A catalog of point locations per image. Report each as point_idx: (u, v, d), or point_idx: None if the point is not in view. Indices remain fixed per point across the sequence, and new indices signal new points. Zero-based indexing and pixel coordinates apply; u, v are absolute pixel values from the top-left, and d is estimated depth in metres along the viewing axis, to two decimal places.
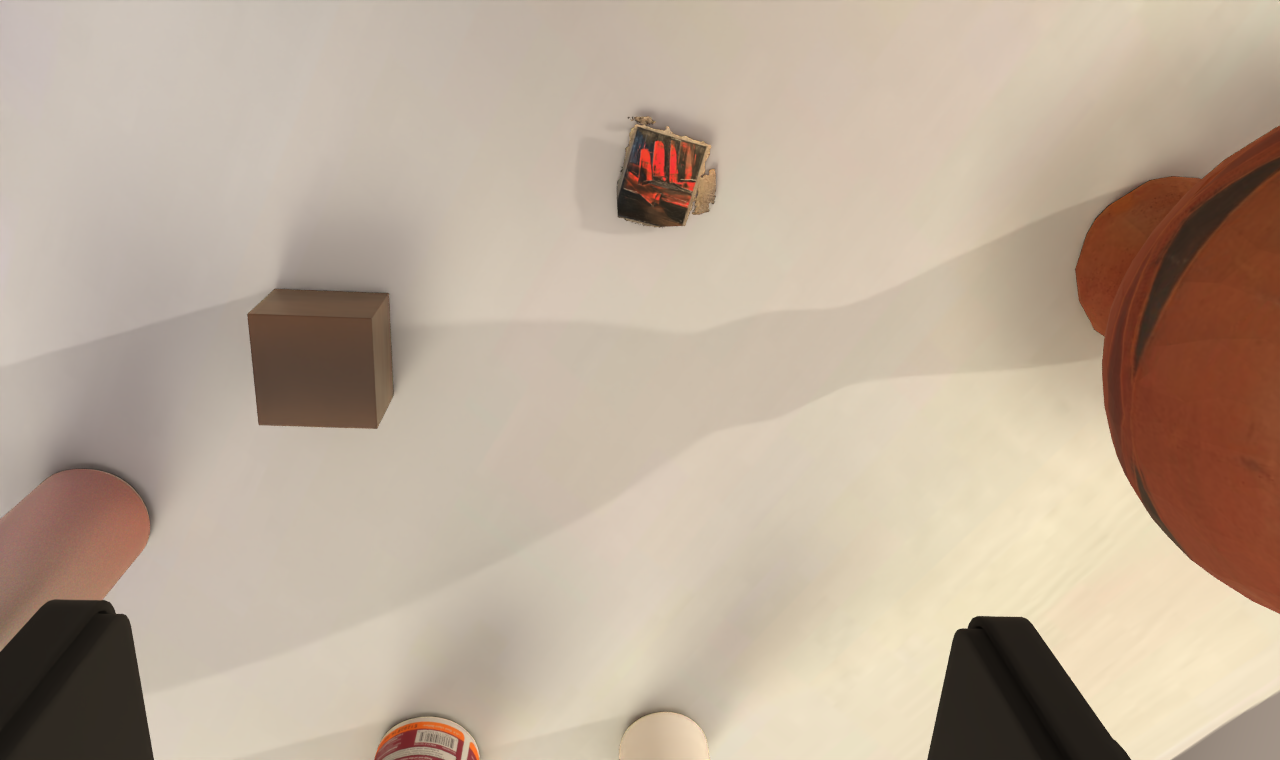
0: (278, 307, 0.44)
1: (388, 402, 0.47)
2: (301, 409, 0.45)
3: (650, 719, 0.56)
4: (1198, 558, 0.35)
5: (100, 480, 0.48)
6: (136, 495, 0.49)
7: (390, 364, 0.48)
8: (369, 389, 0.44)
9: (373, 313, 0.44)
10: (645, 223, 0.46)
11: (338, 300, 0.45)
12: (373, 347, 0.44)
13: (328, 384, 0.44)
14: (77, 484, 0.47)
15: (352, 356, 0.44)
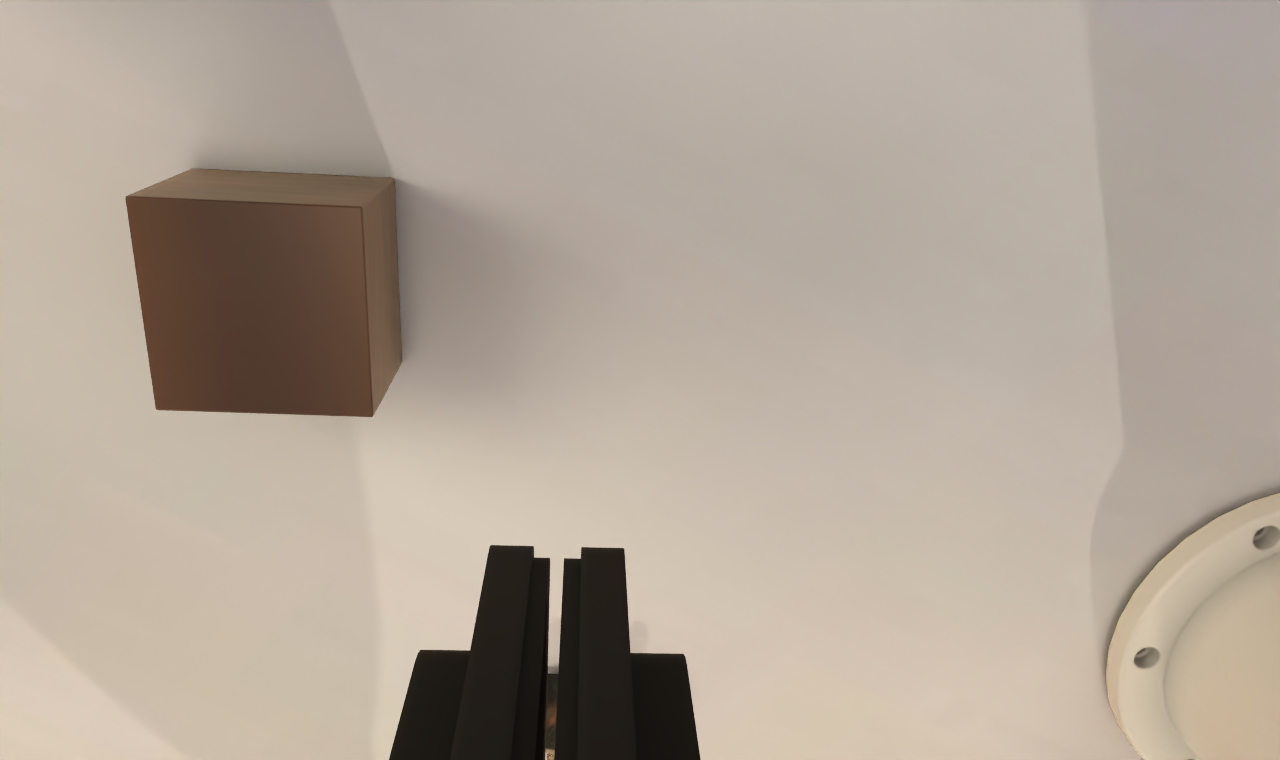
0: (373, 240, 0.24)
1: None
2: (173, 282, 0.23)
3: None
4: None
5: None
6: None
7: None
8: (234, 404, 0.24)
9: (379, 403, 0.25)
10: None
11: (388, 312, 0.26)
12: (317, 414, 0.25)
13: (234, 335, 0.24)
14: None
15: (295, 380, 0.24)
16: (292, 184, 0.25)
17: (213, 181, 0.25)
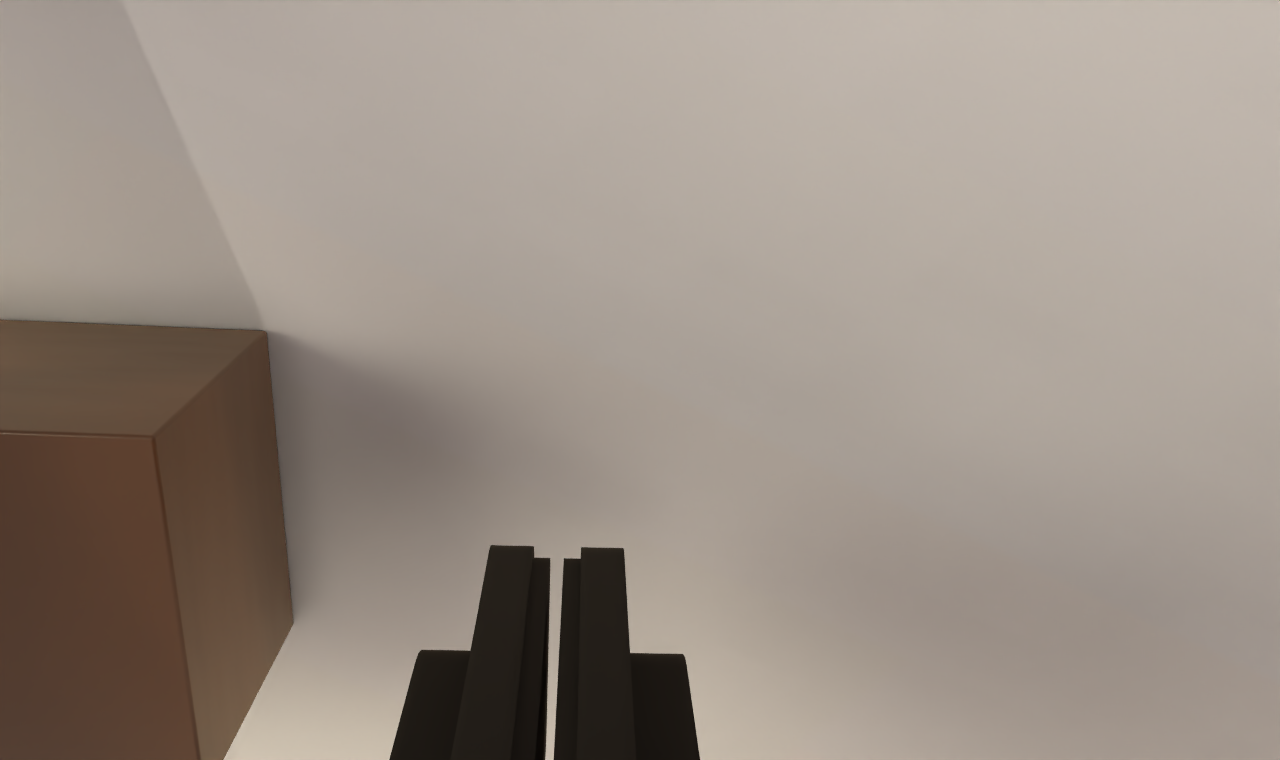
0: (200, 476, 0.13)
1: None
2: None
3: None
4: None
5: None
6: None
7: None
8: None
9: (225, 753, 0.14)
10: None
11: (253, 571, 0.15)
12: None
13: None
14: None
15: (52, 739, 0.13)
16: (60, 359, 0.13)
17: None
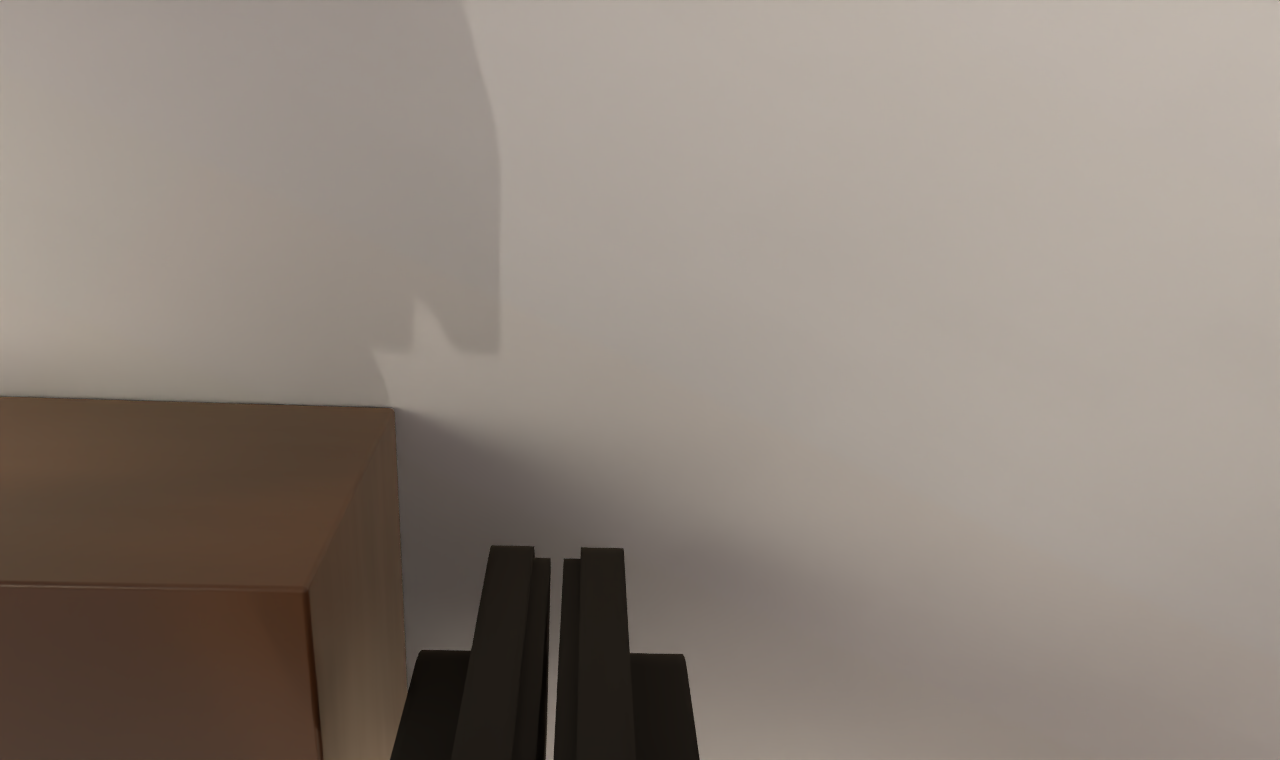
0: (343, 618, 0.10)
1: None
2: None
3: None
4: None
5: None
6: None
7: None
8: None
9: None
10: None
11: (383, 708, 0.12)
12: None
13: None
14: None
15: None
16: (150, 459, 0.10)
17: None
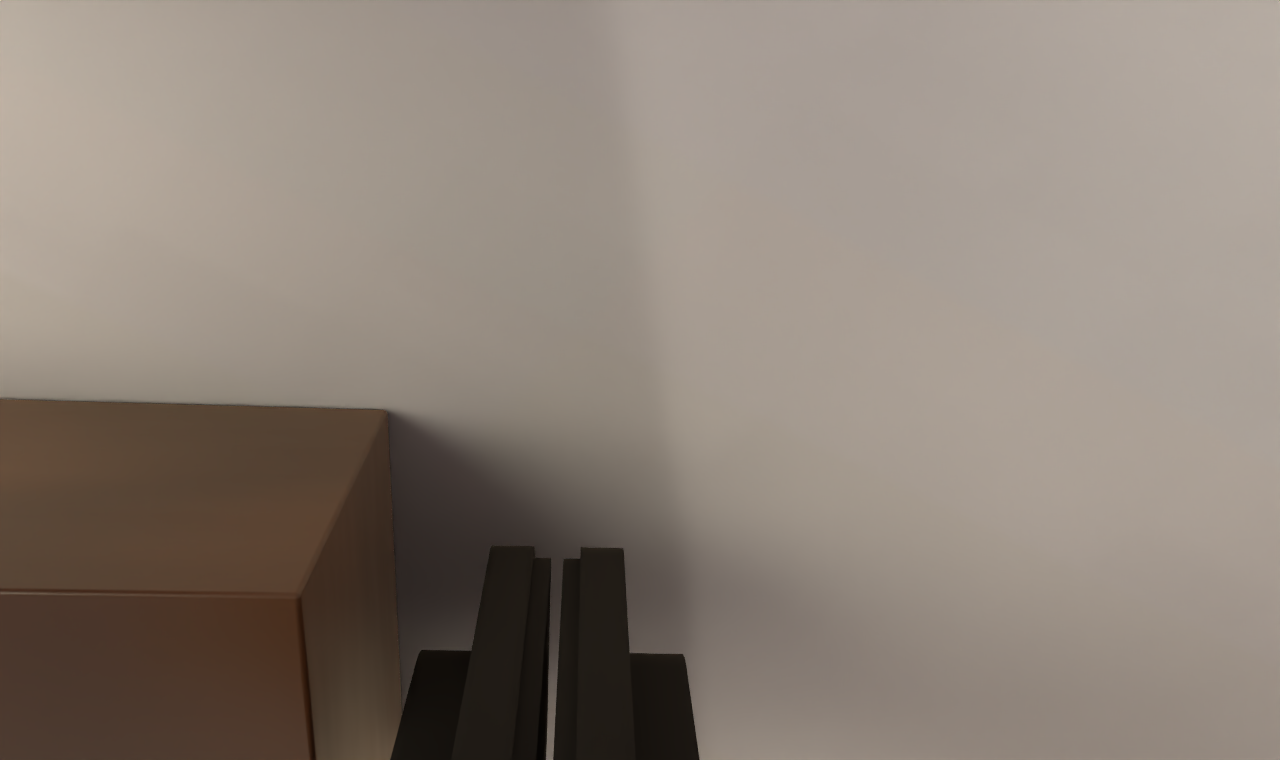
0: (336, 623, 0.10)
1: None
2: None
3: None
4: None
5: None
6: None
7: None
8: None
9: None
10: None
11: (376, 712, 0.12)
12: None
13: None
14: None
15: None
16: (140, 463, 0.10)
17: None
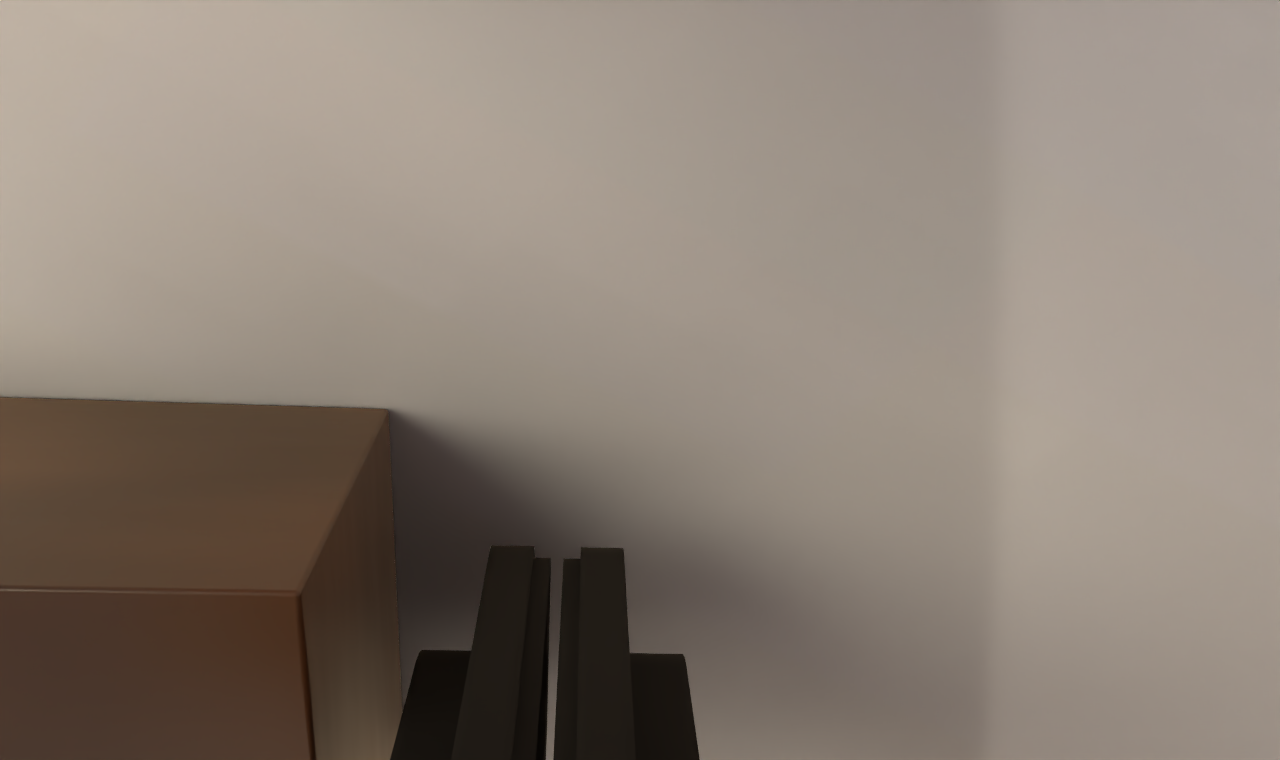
0: (337, 622, 0.10)
1: None
2: None
3: None
4: None
5: None
6: None
7: None
8: None
9: None
10: None
11: (376, 711, 0.12)
12: None
13: None
14: None
15: None
16: (142, 461, 0.10)
17: None
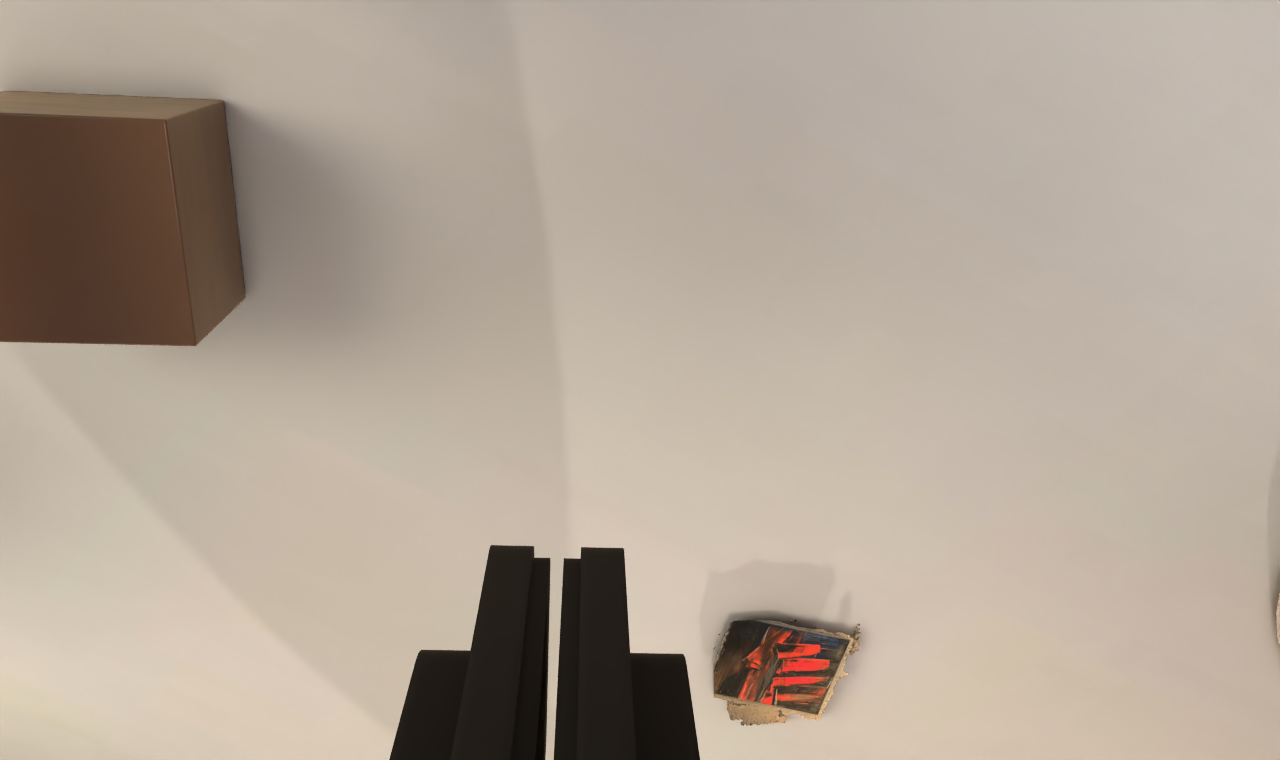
0: (189, 159, 0.23)
1: None
2: None
3: None
4: None
5: None
6: None
7: None
8: (47, 334, 0.23)
9: (206, 333, 0.24)
10: (718, 652, 0.33)
11: (219, 240, 0.25)
12: (137, 343, 0.24)
13: (40, 259, 0.23)
14: None
15: (110, 307, 0.23)
16: (106, 103, 0.24)
17: (20, 100, 0.23)
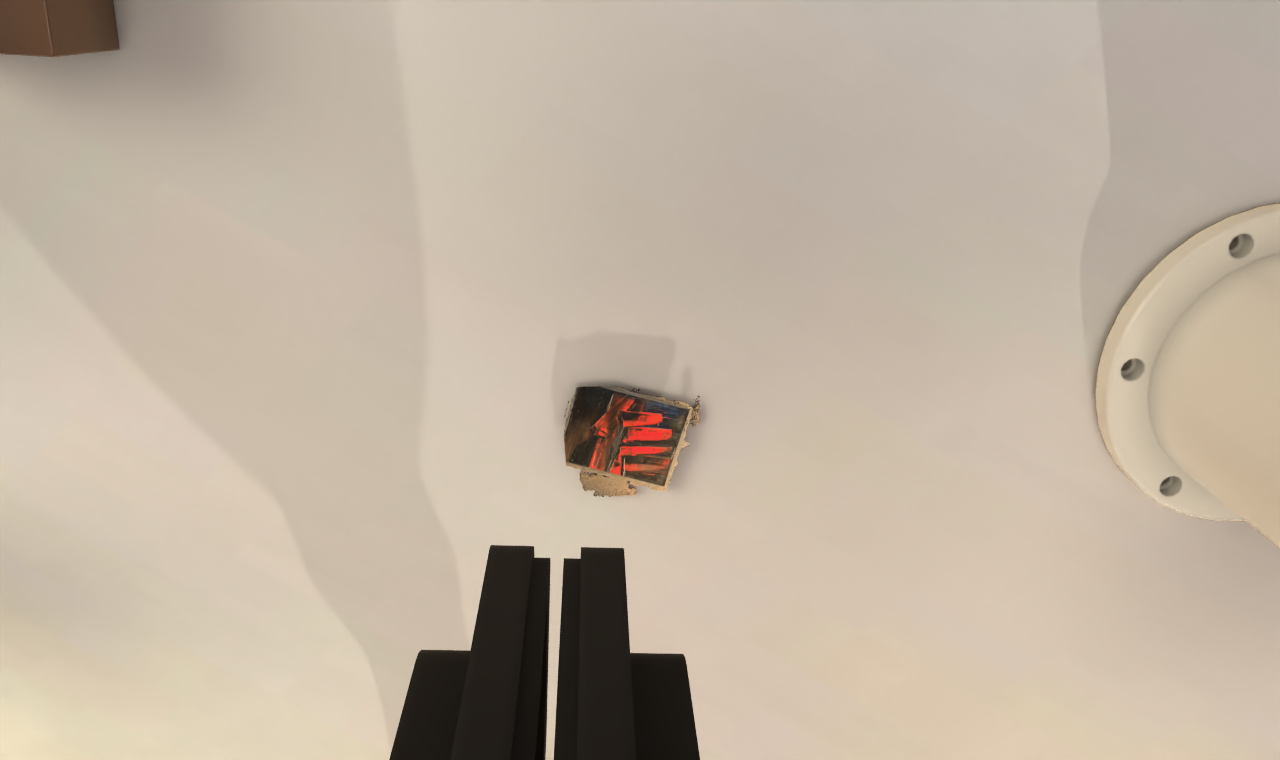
0: None
1: None
2: None
3: None
4: None
5: None
6: None
7: None
8: None
9: (67, 52, 0.28)
10: (568, 419, 0.36)
11: None
12: (3, 53, 0.27)
13: None
14: None
15: None
16: None
17: None
